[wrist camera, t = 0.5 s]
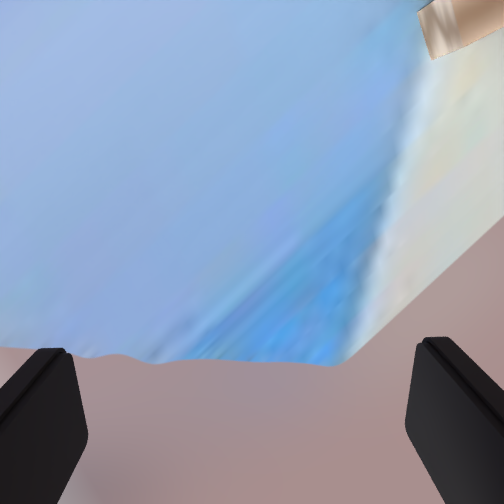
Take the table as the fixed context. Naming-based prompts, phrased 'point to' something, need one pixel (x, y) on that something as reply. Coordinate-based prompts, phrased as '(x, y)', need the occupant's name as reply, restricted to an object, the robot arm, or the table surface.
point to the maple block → (458, 23)
